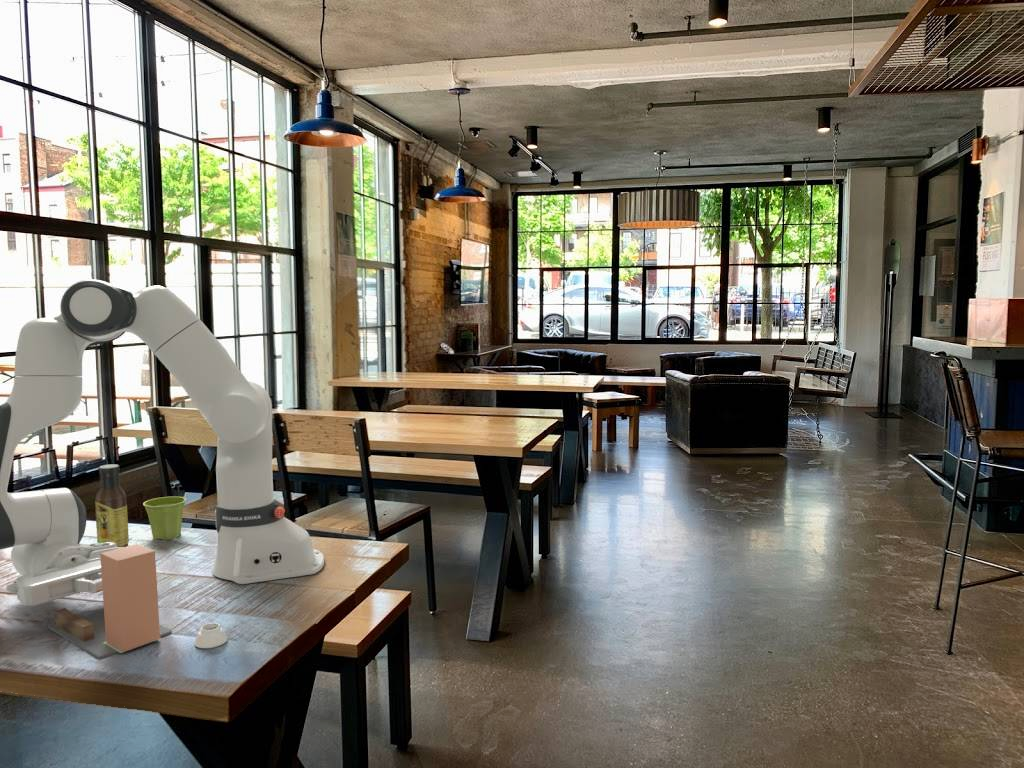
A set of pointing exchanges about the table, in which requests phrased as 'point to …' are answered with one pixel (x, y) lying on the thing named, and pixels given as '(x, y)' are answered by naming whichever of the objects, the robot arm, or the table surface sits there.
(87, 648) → the chute mat
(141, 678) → the table surface
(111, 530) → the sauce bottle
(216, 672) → the table surface
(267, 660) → the table surface
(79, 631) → the chute rails
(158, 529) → the plant pot
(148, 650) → the table surface
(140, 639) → the block
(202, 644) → the white jar
